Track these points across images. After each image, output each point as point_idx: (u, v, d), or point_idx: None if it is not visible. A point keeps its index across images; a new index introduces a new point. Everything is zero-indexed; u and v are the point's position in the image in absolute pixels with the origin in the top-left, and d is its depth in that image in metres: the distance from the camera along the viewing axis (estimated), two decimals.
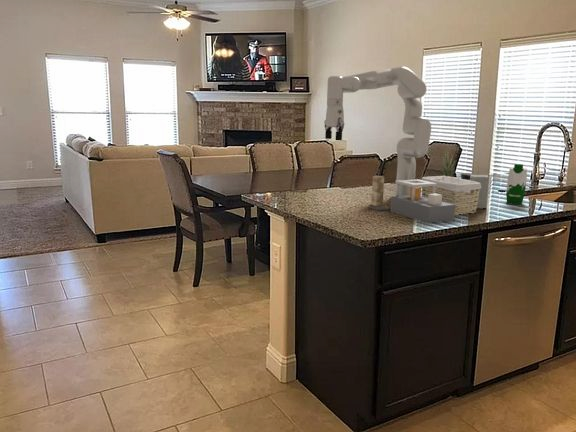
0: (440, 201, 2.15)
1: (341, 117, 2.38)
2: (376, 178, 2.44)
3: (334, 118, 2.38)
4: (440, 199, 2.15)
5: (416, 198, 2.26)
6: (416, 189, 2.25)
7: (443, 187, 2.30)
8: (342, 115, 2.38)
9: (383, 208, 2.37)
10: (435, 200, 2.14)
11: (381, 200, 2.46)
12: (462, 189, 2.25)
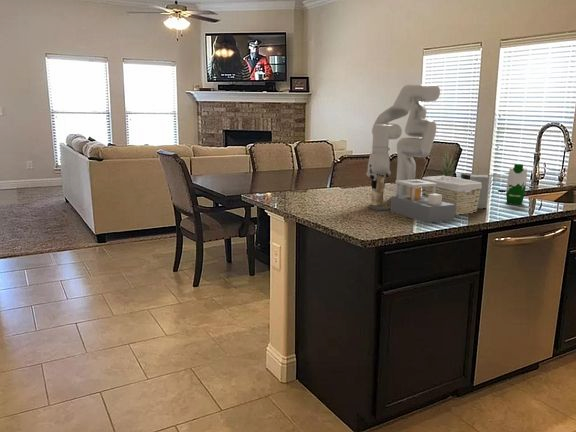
0: (440, 201, 2.15)
1: None
2: (376, 178, 2.43)
3: (388, 165, 2.44)
4: (440, 199, 2.15)
5: (416, 198, 2.26)
6: (416, 189, 2.25)
7: (445, 187, 2.30)
8: None
9: (383, 208, 2.37)
10: (435, 200, 2.14)
11: (381, 200, 2.46)
12: (464, 189, 2.25)
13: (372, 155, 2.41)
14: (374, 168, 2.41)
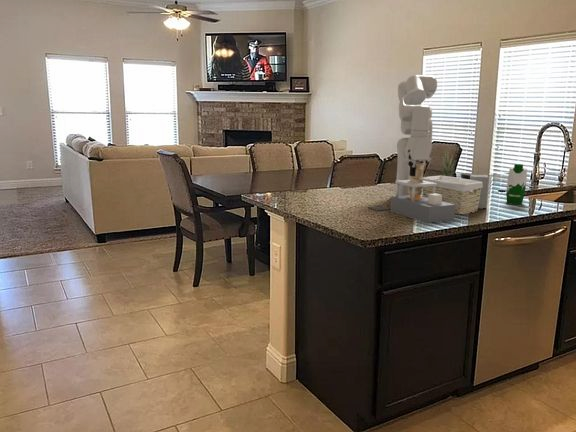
0: (440, 201, 2.15)
1: None
2: (415, 164, 2.23)
3: (428, 150, 2.23)
4: (440, 199, 2.15)
5: None
6: (415, 196, 2.25)
7: (448, 187, 2.30)
8: None
9: (383, 208, 2.37)
10: (435, 200, 2.14)
11: (420, 189, 2.26)
12: (468, 189, 2.26)
13: (411, 139, 2.20)
14: (413, 153, 2.20)
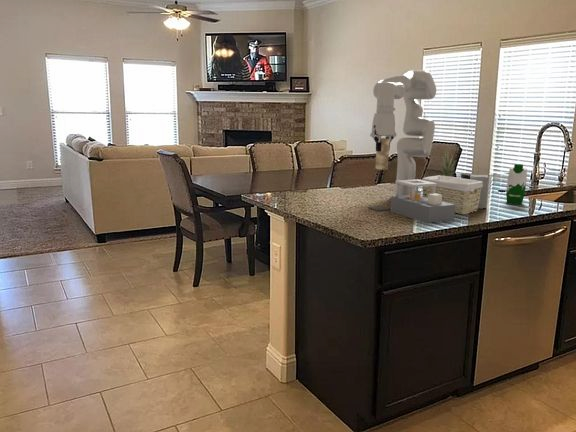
0: (440, 201, 2.15)
1: None
2: (381, 140, 2.29)
3: (393, 126, 2.30)
4: (440, 199, 2.15)
5: None
6: (415, 196, 2.25)
7: (450, 187, 2.30)
8: None
9: (383, 208, 2.37)
10: (435, 200, 2.14)
11: (386, 164, 2.32)
12: (470, 189, 2.27)
13: (376, 115, 2.27)
14: (379, 129, 2.27)
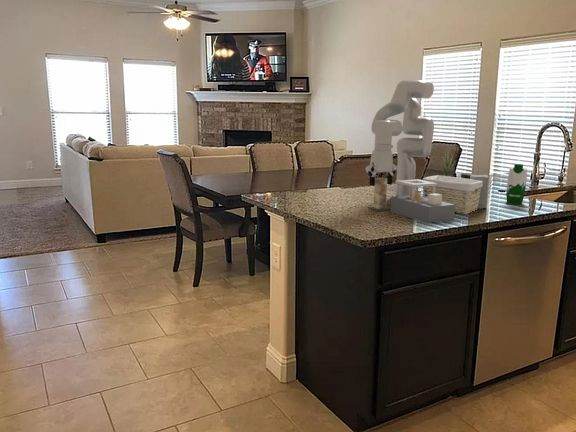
0: (440, 201, 2.15)
1: None
2: (379, 180, 2.33)
3: (391, 163, 2.33)
4: (440, 199, 2.15)
5: None
6: (415, 196, 2.25)
7: (452, 187, 2.31)
8: None
9: None
10: (435, 200, 2.14)
11: (384, 203, 2.36)
12: (472, 188, 2.28)
13: (374, 153, 2.31)
14: (377, 166, 2.30)
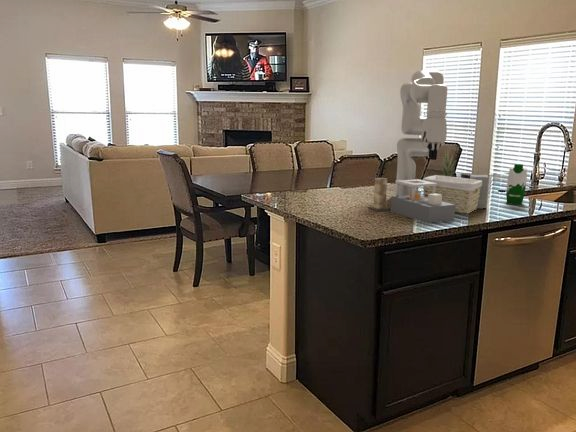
0: (440, 201, 2.15)
1: None
2: (379, 180, 2.33)
3: (445, 132, 2.12)
4: (440, 199, 2.15)
5: None
6: (415, 196, 2.25)
7: (454, 187, 2.31)
8: None
9: None
10: (435, 200, 2.14)
11: (384, 203, 2.36)
12: (474, 188, 2.29)
13: (426, 121, 2.09)
14: (429, 135, 2.09)
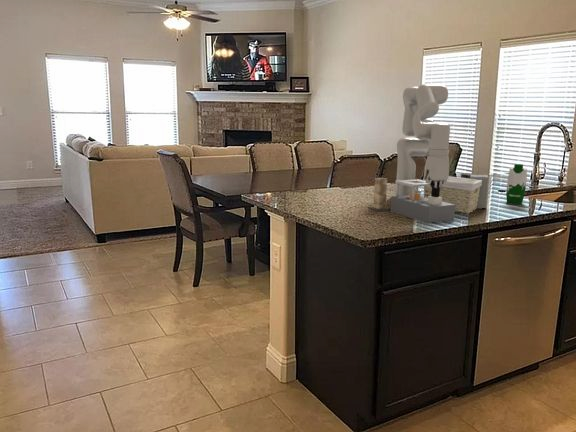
0: (440, 203, 2.15)
1: None
2: (379, 180, 2.33)
3: (448, 170, 2.13)
4: (440, 201, 2.15)
5: None
6: (415, 196, 2.25)
7: (455, 187, 2.31)
8: None
9: None
10: (435, 202, 2.14)
11: (384, 203, 2.36)
12: (475, 188, 2.30)
13: (429, 159, 2.10)
14: (432, 174, 2.10)
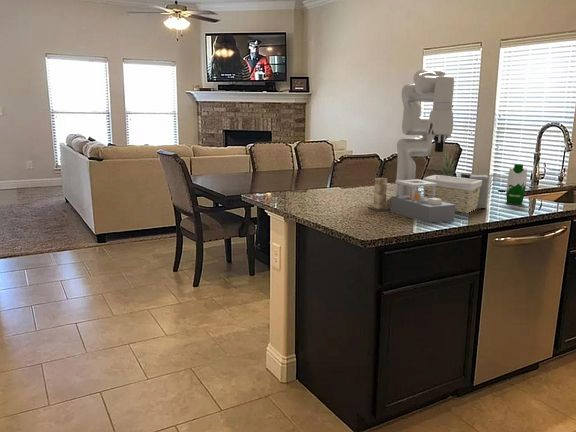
0: None
1: None
2: (379, 180, 2.33)
3: (451, 124, 2.09)
4: (440, 203, 2.15)
5: None
6: (415, 196, 2.25)
7: (454, 187, 2.32)
8: None
9: None
10: (435, 204, 2.14)
11: (384, 203, 2.36)
12: (474, 188, 2.30)
13: (433, 112, 2.06)
14: (436, 127, 2.06)
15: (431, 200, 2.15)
